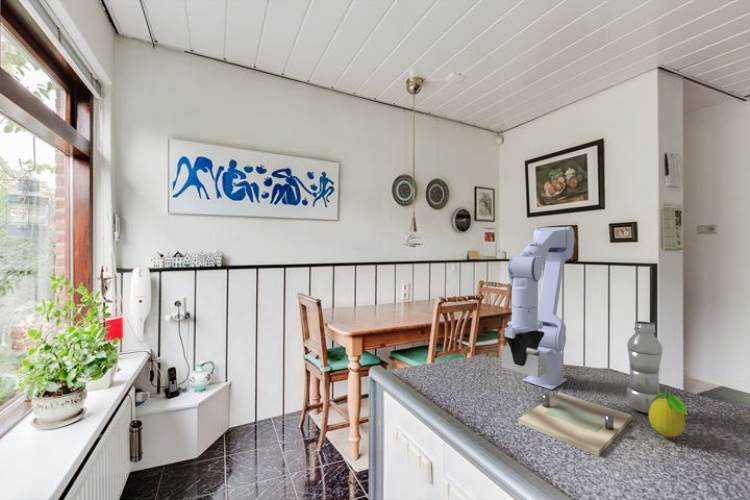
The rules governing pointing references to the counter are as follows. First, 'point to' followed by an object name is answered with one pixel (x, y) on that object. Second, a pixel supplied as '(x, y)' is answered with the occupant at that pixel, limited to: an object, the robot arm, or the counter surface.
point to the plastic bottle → (643, 367)
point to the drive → (526, 362)
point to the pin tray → (576, 422)
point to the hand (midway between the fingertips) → (524, 362)
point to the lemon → (667, 415)
